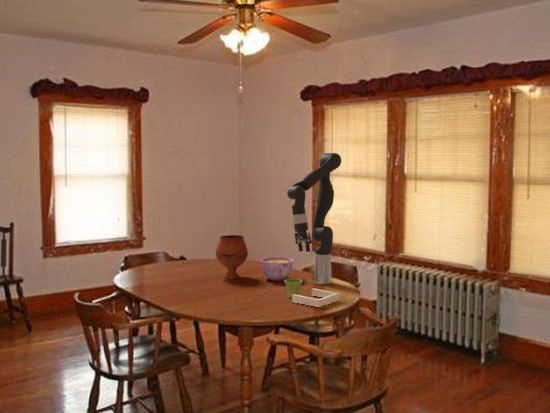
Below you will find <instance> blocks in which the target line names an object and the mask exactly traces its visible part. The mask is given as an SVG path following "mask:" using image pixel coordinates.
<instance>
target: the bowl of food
mask: <svg viewBox="0 0 550 413" xmlns="http://www.w3.org/2000/svg"><path fill="white" fill-rule="evenodd" d="M294 261H295V260H294V259H293V258H291V257H284V256H282V257H281V256H269V257H264V258H260V265H261V269H262V273H263V274H264V276H265V277H266V278H267V279H269V280H271V281H275V282H277V281H284V280H286V279H288V277H290V275H291V273H292V270H293V266H294Z"/></svg>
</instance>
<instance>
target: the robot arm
mask: <svg viewBox="0 0 550 413" xmlns="http://www.w3.org/2000/svg"><path fill="white" fill-rule="evenodd" d="M341 164H342V157H341V155H340V154H339V153H336V152H324V153H322V154H321V157H320V159H319V167H318V168H315V169H314V170H313V169H312V170H311V171H310V172H308V173H306V175H305V176H303V177H302V178H301V179H300V180H299V181H297V182H296V183H294V184H293V185H291V186H290V187H289V188H288V190H287V193H286V194H287V197H288V198H289V199H291V200H294V203H293V204H292V205H291V212H292V221H293V228H294V238H295V239H294V240H295V244H297V246H298V251H299V252H303V251H304V247H305V252H306V253H307V252H309V253H310V252H311V247H310V245H311V244H312V239H313V240H314V241H316V242H320V246H319V247H315V249H314V284H316V285H330V284H331V283H332V264H331V262H332V261H331V260H332V249H333V242H334V241H333V240H334V239H333V238H334V232H333V228H332V227H330V226H328V225H327V226H326V225H325V220H326V217H327V215H328V213H329V211H331V209H332V207H333V204H334V198H335V191H334V187H333V184H332V181H331V173H332V172H334V171H335V170H336V169H338V168H340V166H341ZM318 182H319V184H318V192H317V198H316V200H317V201H316V207H315V208H316V210H315V217H314V222H313V226H312V232H311V233H310V232H307V231H309V224H308V219H307V215H306V207H305V203H306V191H308V190H311V188H312V187H314V186H315V185H316V184H317V183H318ZM311 235H312V237H311ZM311 238H312V239H311ZM303 243H304V245H305V246H304V247H303ZM329 283H330V284H329Z"/></svg>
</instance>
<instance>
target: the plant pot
mask: <svg viewBox="0 0 550 413" xmlns="http://www.w3.org/2000/svg"><path fill="white" fill-rule="evenodd" d="M283 281H284V283H285V288H286V289H285V290H286V296H287V298H291V299H292V295H293V294H296V295H300V291H301V286H302V283H303V280H302V279H300V278H285V279H284V280H283Z"/></svg>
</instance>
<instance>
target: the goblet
mask: <svg viewBox="0 0 550 413" xmlns="http://www.w3.org/2000/svg"><path fill="white" fill-rule="evenodd" d="M244 238H245V236H244V235H242V234H240V235H239V234H227V235H221V236H219V240H218V243H217V246H216V249H215V256H216V260H217V261H218V262H219V263H220V264H221V266H224V267H226V268H227V272H226V273H225V274H224V278H225V279H231V280H232V279H238V278H239V277H240V275H239V274H238V273H237V269H238V268H239V267H241V266H242V265H243V264H244V263H245V261H247V258H248V254H249V252H248V251H249V250H248V248H247V244H246V242H245V239H244Z"/></svg>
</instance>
